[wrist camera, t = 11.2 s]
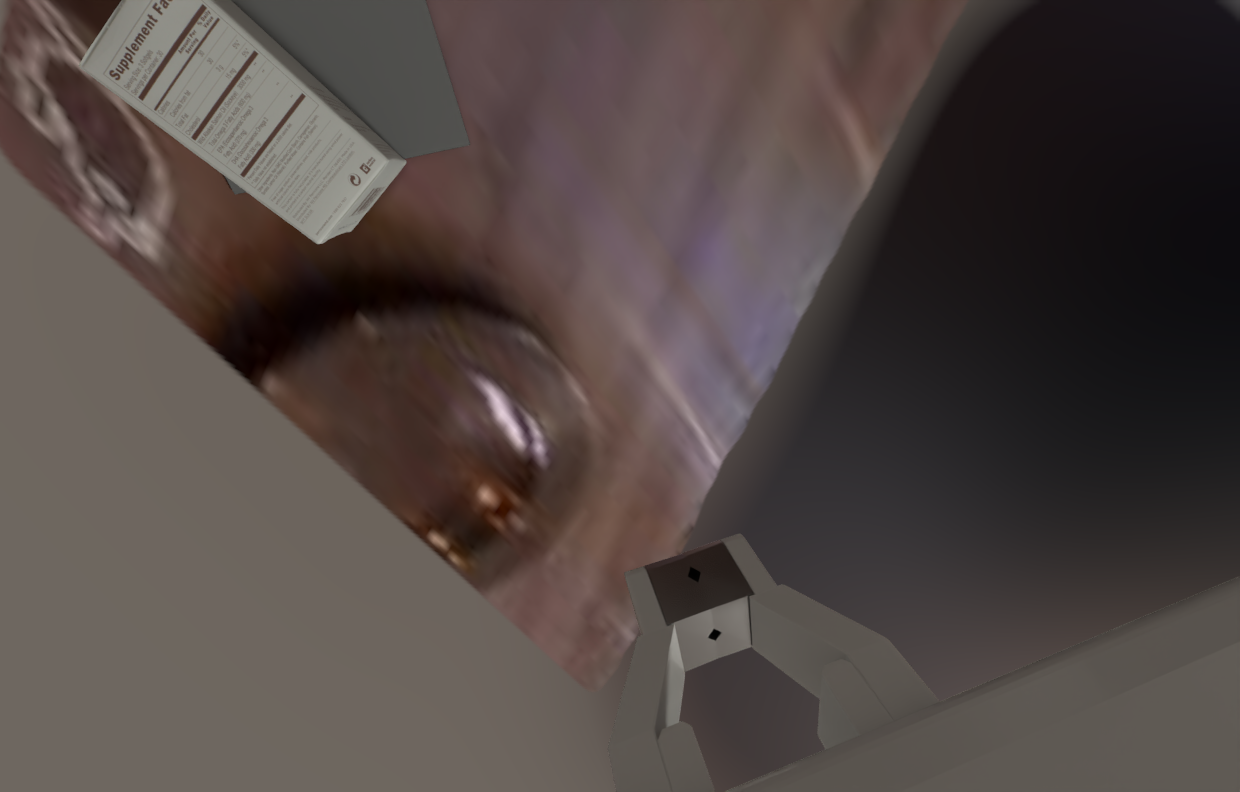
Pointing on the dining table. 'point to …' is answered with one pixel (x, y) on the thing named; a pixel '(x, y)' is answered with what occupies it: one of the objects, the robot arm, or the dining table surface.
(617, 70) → the dining table surface
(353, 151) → the supplement box
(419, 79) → the mat
